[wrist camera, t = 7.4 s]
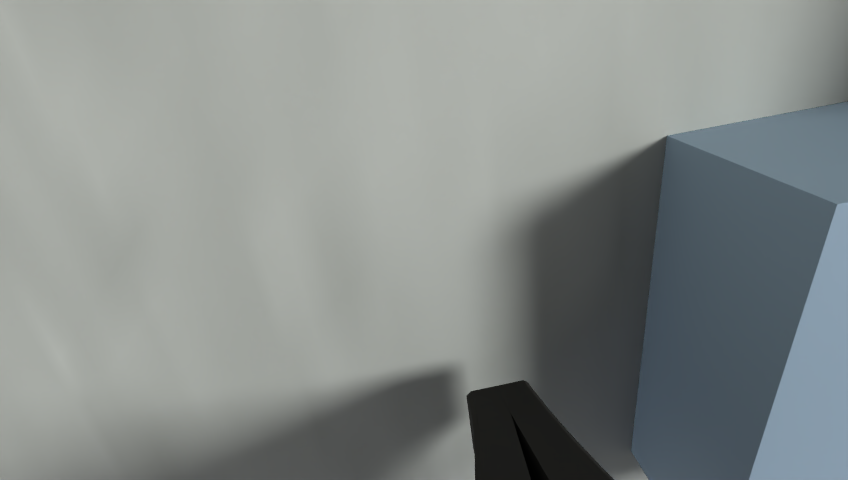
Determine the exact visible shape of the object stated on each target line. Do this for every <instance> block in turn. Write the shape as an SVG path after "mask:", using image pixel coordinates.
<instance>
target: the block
mask: <svg viewBox="0 0 848 480" xmlns="http://www.w3.org/2000/svg"><path fill="white" fill-rule="evenodd" d="M631 452H632V453H633V455H634V457H635V458H636V460H637V461H638V463H639V465H640V466H641V468H642V469H643V471H644V473H645V474H646V476H647V477H648V479H649V480H848V101H847V102H842V103H837V104H832V105H826V106H821V107H816V108H811V109H805V110H800V111H795V112H790V113H784V114H779V115H774V116H769V117H763V118H758V119H753V120H748V121H742V122H737V123H732V124H727V125H721V126H716V127H711V128H706V129H700V130H695V131H690V132H685V133H679V134H674V135H669V136H667V141H666V149H665V158H664V167H663V176H662V184H661V193H660V202H659V211H658V219H657V228H656V237H655V246H654V254H653V263H652V272H651V281H650V290H649V298H648V307H647V316H646V325H645V333H644V342H643V351H642V360H641V368H640V377H639V386H638V395H637V403H636V412H635V421H634V430H633V439H632V447H631Z"/></svg>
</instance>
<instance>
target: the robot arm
mask: <svg viewBox="0 0 848 480" xmlns="http://www.w3.org/2000/svg"><path fill="white" fill-rule="evenodd" d="M467 403H468V411H469V418H470V426H471V433H472V441H473V448H474V453H475V480H614V479H613V478H612V477H611V476H610V475H609V474H608V473H607V472H606V471H605V470H604V469H603V468H602V467H601V466H600V465H599V464H598V463H597V462H596V461H595V460H594V459H593V458H592V457H591V456H590V454H589V453H588V452H587V451H586V450H585V449H584V448H583V447H582V446H581V445H580V444H579V443H578V442H577V441H576V440H575V439H574V437H573V436H572V435H571V434H570V433H569V432H568V431H567V430H566V429H565V427H564V426H563V425H562V424H561V423H560V422H559V421H558V419H557V418H556V417H555V416H554V415H553V414H552V412H551V411H550V410H549V409H548V408H547V406H546V405H545V404H544V403H543V401H542V400H541V399H540V398H539V396H538V395H537V394H536V393H535V391H534V390H533V389H532V387H531V386H530V385H529V383H527V382H526V381H524V380H523V381H518V382H513V383H508V384H504V385H499V386H494V387H490V388H485V389H480V390H475V391H471V392H470V393H469V394H468V395H467Z"/></svg>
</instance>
